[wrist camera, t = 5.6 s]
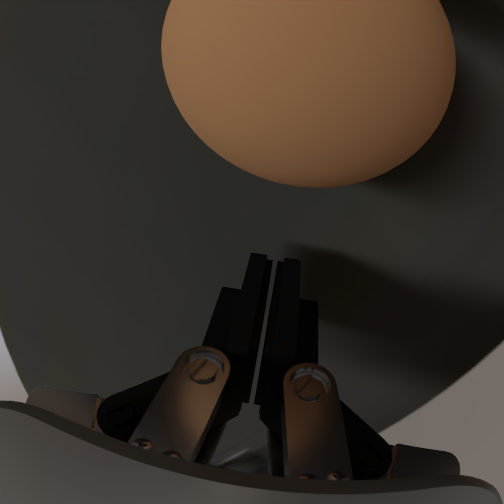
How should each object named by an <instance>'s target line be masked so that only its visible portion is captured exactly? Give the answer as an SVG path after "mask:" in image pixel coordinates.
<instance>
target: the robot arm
mask: <svg viewBox="0 0 504 504" xmlns="http://www.w3.org/2000/svg"><path fill="white" fill-rule="evenodd" d="M272 262H273V260H268V259H267V255H263V254H257V253H251V255H250V259H249V263H248V266H247V270H246V274H245V277H244V281H243V285H242V288H241V290H240V289H234V288H228V287H222V289H221V292H220V295H219V297H218V300H217V303H216V306H215V309H214V312H213V315H212V318H211V321H210V323H209V326H208V329H207V332H206V335H205V338H204V341H203V344H202V346H197V347H193V348H190V349H188V350H186V351H185V352H183V353H182V354H181V355H180V357H179V358H178V359H177V361H176V363H175V364H174V366H173V368H172V369H171V371H170V372H168V373H165V374H163V375H161V376H158V377H156V378H154V379H151V380H149V381H146V382H144V383H142V384H139V385H137V386H134V387H132V388H129V389H127V390H124V391H122V392H119V393H116V394H114V395H111V396H110V397H108V398H100V397H99V396H98V394H90V393H84V392H77V391H71V390H65V389H60V388H55V387H49V386H40V387H38V388H35V389H34V390H33V391H32V392H31V393H30V395H29V396H28V398H27V402H26V403H21V402H15V401H0V504H503V503H502V499H501V497H500V494H499V492H498V491H497V489H496V488H495V487H494V486H493V485H491V484H489V483H488V482H485V481H483V480H481V479H478V478H474V477H469V476H464V475H460V464H459V462H458V460H457V458H456V457H455V456H454V455H453V454H452V453H449V452H446V451H439V450H432V449H425V448H420V447H414V446H408V445H403V444H397V445H395V446H393V445H389V444H388V443H387V442H386V441H385V440H384V439H383V438H382V437H381V436H380V435H379V434H377V433H376V432H375V431H374V430H373V429H372V428H371V427H370V426H369V425H367V424H366V423H365V422H364V421H363V420H362V419H361V418H360V417H359V416H357V415H356V414H355V413H354V412H353V411H352V410H351V409H350V408H349V407H348V406H346V405H345V404H344V403H343V402H342V401H341V400H340V399H339V394H338V389H337V384H336V381H335V379H334V376H333V375H332V374H331V373H330V371H328V370H327V369H326V368H324V367H323V366H320V365H318V303H317V301H311V300H304V299H299V292H300V266H301V261H300V260H296V259H289V258H285V259H284V262H281V261H278V263H277V269H276V275H275V281H274V287H273V293H272V299H271V305H270V311H269V316H268V322H267V329H266V335H265V341H264V347H263V354H262V360H261V366H260V372H259V378H258V384H257V389H256V395H255V401H254V404H256V405H260V411H259V414H260V417H259V418H260V420H261V421H262V422H263V423H264V424H265V425H266V426H267V427H268V431H267V435H268V468H269V476H268V475H260V474H253V473H246V472H240V471H234V470H228V469H223V468H218V467H213V466H209V464H210V461H211V459H212V457H213V454H214V452H215V450H216V447H217V445H218V443H219V441H220V438H221V436H222V434H223V431H224V429H225V426H226V423H227V421H229V420H230V419H232V418H234V417H236V416H238V415H239V411H240V410H241V405H242V402H244V403H249V398H250V393H251V388H252V382H253V377H254V371H255V365H256V360H257V354H258V349H259V343H260V337H261V331H262V326H263V320H264V313H265V307H266V301H267V295H268V288H269V282H270V275H271V269H272Z"/></svg>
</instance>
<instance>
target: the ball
mask: <svg viewBox="0 0 504 504" xmlns="http://www.w3.org/2000/svg"><path fill="white" fill-rule="evenodd" d="M161 50H162V62H163V68H164V72H165V76H166V81H167V84H168V87H169V89H170V92H171V94H172V97H173V99H174V102H175V104H176V105H177V107H178V109H179V111H180V113H181V114H182V116H183V118H184V119H185V120H186V122H187V123H188V124H189V126H190V127H191V128H192V130H193V131H194V132H195V133H196V134H197V135H198V136H199V137H200V138H201V139H202V140H203V142H204V143H205V144H206V145H207V146H209V147H210V148H211V149H212V150H214V151H215V152H216V153H217V154H219V155H220V156H221V157H222V158H224V159H226V160H227V161H229V162H231V163H232V164H234V165H235V166H237V167H239V168H241V169H243V170H245V171H247V172H249V173H251V174H253V175H256V176H258V177H261V178H264V179H267V180H270V181H273V182H277V183H282V184H287V185H291V186H299V187H309V188H328V187H338V186H345V185H352V184H355V183H359V182H362V181H366V180H369V179H372V178H374V177H376V176H379V175H381V174H384V173H386V172H387V171H389V170H391V169H393V168H394V167H396V166H398V165H399V164H401V163H403V162H404V161H405V160H407V159H408V158H409V157H410V156H412V155H413V154H414V153H416V152H417V151H418V150H419V149H420V148H421V147H422V146H423V145H424V144H425V142H426V141H427V140H428V139H429V138H430V137H431V135H432V134H433V132H434V131H435V130H436V128H437V127H438V125H439V124H440V122H441V120H442V118H443V116H444V114H445V112H446V109H447V107H448V104H449V101H450V97H451V94H452V91H453V86H454V80H455V74H456V54H455V46H454V39H453V36H452V32H451V28H450V25H449V22H448V19H447V17H446V15H445V12H444V10H443V8H442V5H441V3H440V2H439V0H171V3H170V5H169V8H168V10H167V13H166V17H165V21H164V26H163V30H162V45H161Z"/></svg>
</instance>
